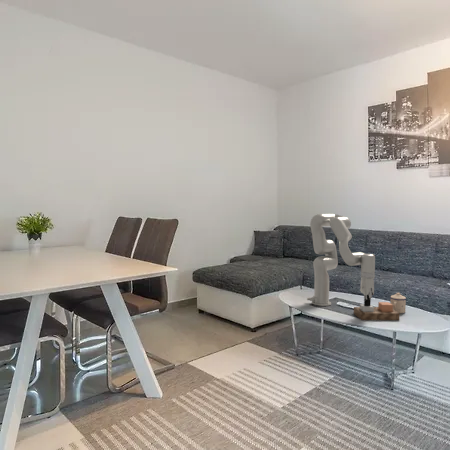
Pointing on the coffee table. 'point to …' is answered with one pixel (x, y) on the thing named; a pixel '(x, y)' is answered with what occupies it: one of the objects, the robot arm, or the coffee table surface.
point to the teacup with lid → (398, 302)
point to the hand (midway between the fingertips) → (367, 305)
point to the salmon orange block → (385, 307)
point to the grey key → (366, 308)
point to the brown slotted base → (376, 314)
